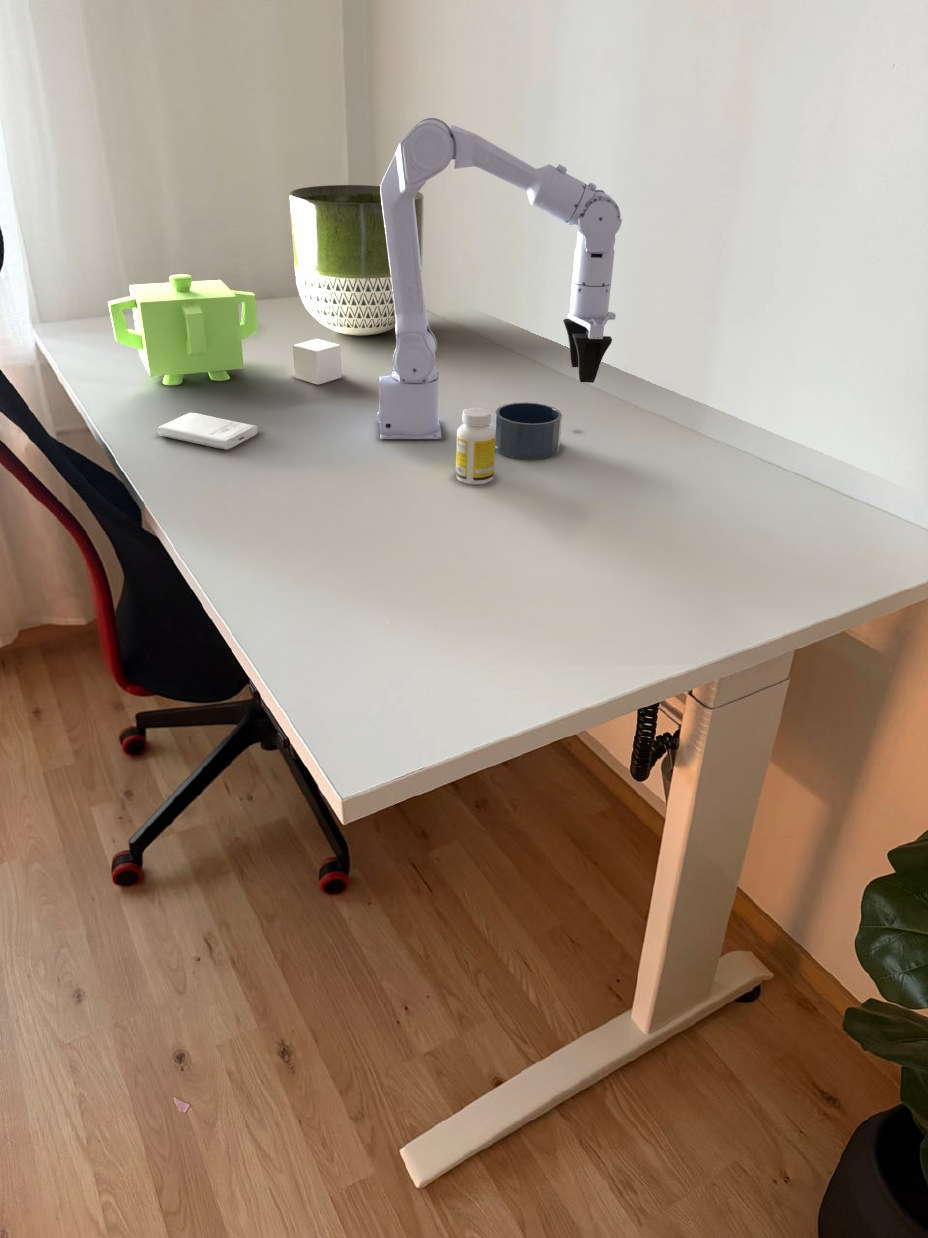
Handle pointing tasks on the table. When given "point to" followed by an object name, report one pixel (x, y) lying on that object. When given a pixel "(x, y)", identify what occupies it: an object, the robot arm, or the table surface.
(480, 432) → the supplement bottle
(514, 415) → the dark grey hollow cylinder
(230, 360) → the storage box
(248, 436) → the hard drive
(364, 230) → the planter
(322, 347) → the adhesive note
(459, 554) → the table surface
